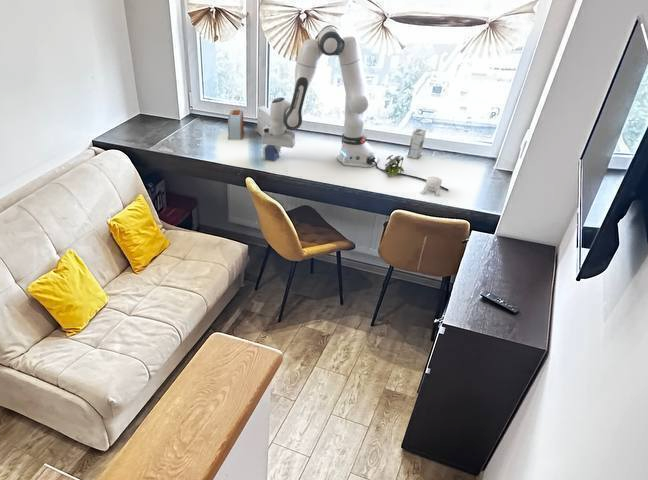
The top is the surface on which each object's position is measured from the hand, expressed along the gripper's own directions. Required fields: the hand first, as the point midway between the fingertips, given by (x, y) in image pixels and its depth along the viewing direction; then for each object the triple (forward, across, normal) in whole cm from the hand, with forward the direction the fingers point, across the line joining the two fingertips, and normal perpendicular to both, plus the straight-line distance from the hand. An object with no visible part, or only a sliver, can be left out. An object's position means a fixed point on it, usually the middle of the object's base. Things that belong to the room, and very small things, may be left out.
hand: (278, 153), depth 315 cm
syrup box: (+6, -71, -34) cm, 79 cm away
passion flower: (+5, -66, -8) cm, 67 cm away
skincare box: (+4, +21, -29) cm, 36 cm away
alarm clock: (+3, +41, -24) cm, 48 cm away
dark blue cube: (0, +1, 0) cm, 1 cm away
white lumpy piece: (+6, -90, +7) cm, 91 cm away
